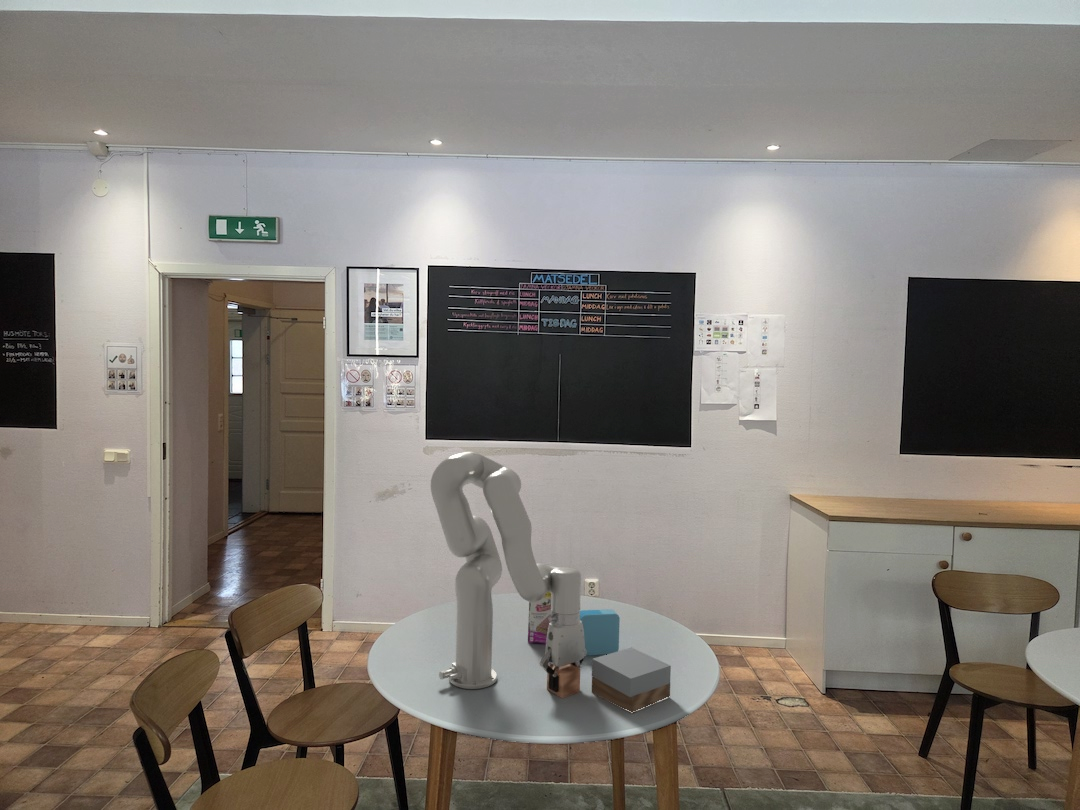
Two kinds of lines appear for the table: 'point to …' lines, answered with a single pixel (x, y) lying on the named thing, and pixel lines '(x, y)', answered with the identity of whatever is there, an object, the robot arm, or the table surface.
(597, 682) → the tower bottom
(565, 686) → the stack block
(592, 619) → the blue rounded block
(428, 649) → the table surface
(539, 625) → the candy bar box
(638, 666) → the tower top
